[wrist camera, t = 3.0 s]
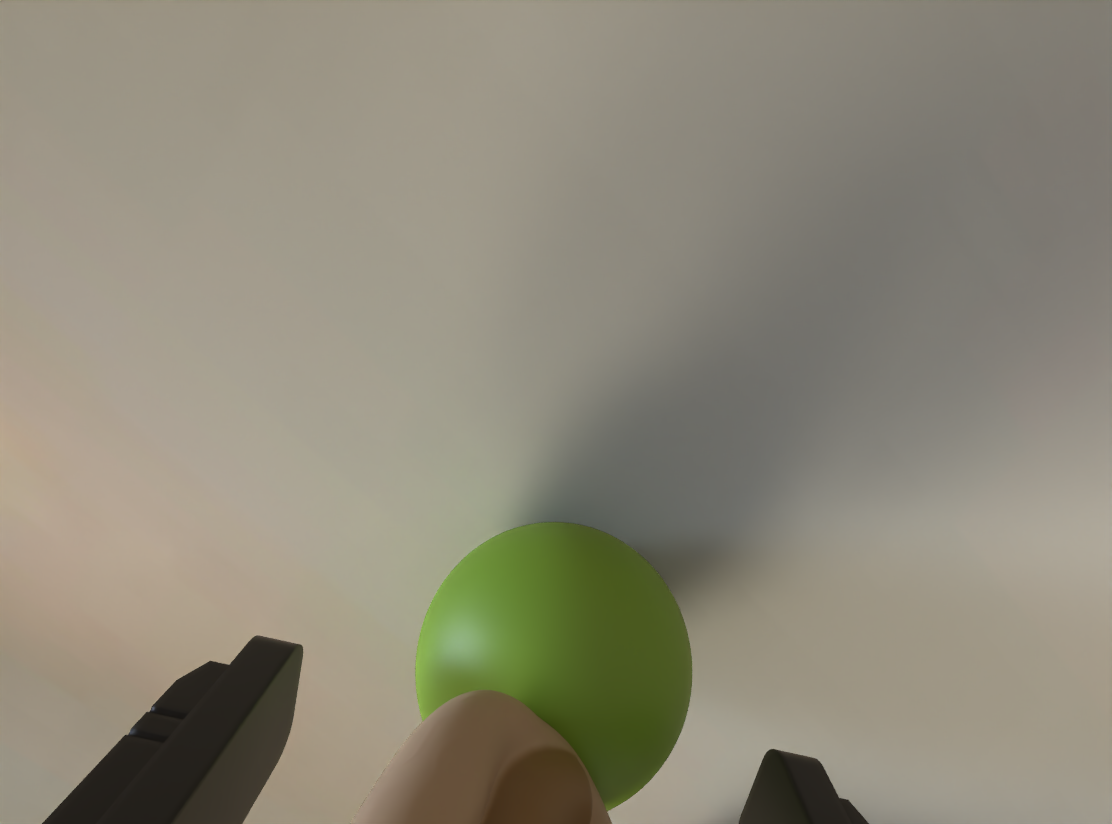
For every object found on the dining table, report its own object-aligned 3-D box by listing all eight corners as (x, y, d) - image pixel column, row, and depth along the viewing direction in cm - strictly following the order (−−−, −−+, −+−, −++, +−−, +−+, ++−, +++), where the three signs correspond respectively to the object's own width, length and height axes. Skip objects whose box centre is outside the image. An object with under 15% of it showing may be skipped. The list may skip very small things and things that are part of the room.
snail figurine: (585, 407, 14) (708, 1319, 2) (703, 629, 15) (1183, 1935, 3) (382, 509, 14) (-424, 1625, 3) (512, 712, 16) (358, 2032, 4)
